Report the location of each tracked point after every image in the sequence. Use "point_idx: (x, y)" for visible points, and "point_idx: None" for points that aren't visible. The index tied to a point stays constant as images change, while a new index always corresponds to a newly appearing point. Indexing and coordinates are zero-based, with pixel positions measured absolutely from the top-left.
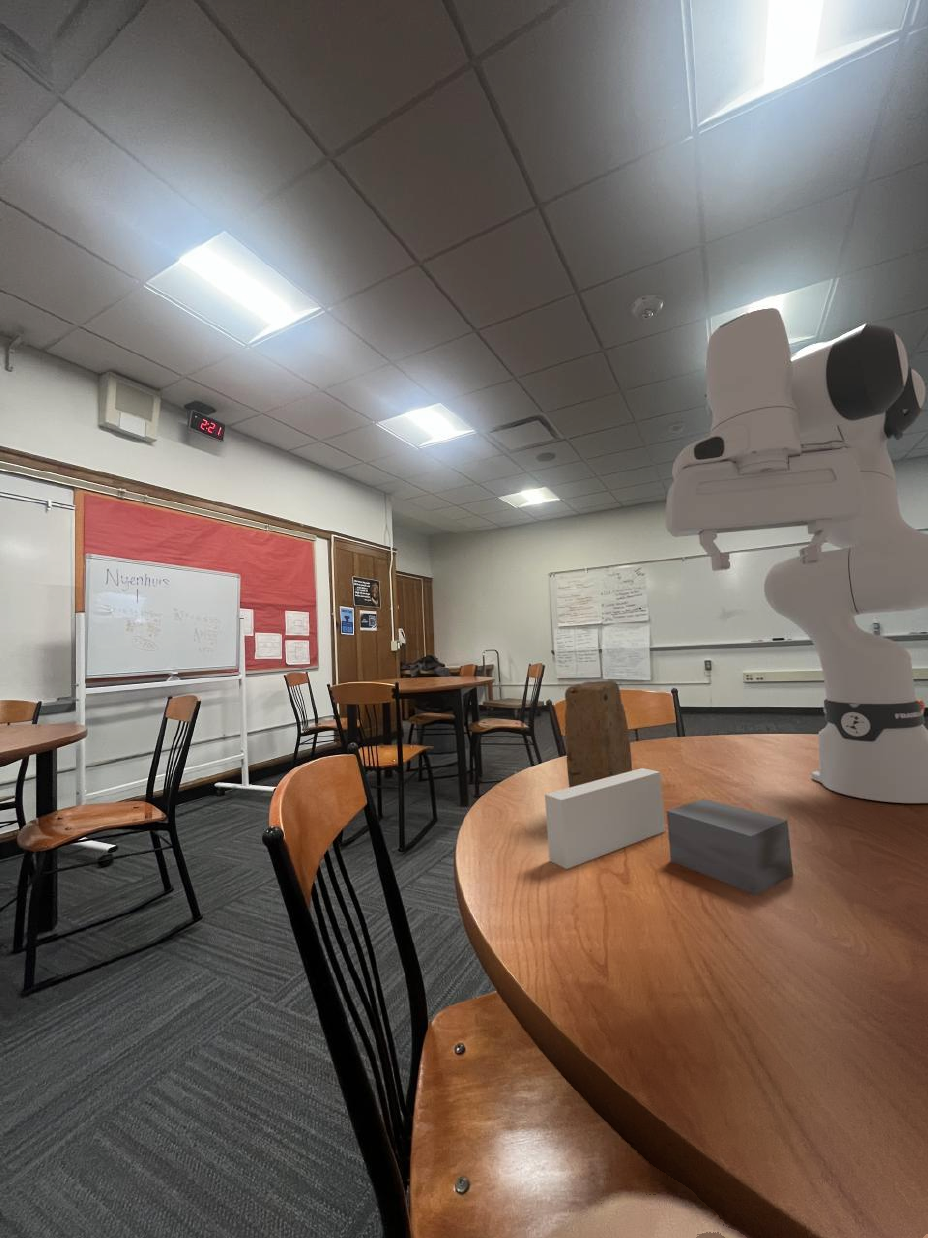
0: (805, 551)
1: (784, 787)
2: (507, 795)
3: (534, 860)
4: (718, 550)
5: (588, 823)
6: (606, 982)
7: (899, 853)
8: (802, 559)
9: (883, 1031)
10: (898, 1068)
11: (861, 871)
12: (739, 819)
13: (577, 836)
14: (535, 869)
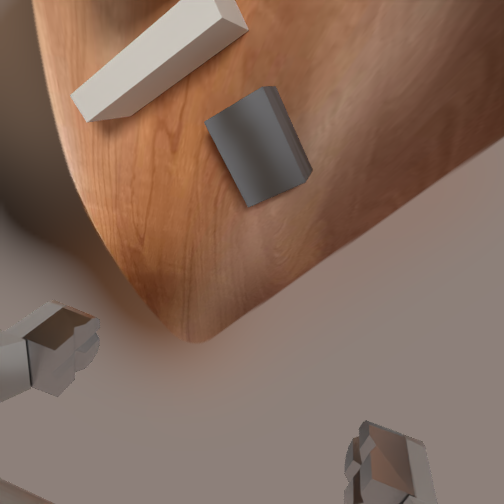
0: (348, 490)
1: None
2: None
3: None
4: (11, 393)
5: (132, 101)
6: (141, 250)
7: (457, 150)
8: (360, 442)
9: (243, 303)
10: (234, 315)
11: (377, 176)
12: (262, 167)
13: (126, 109)
14: None
